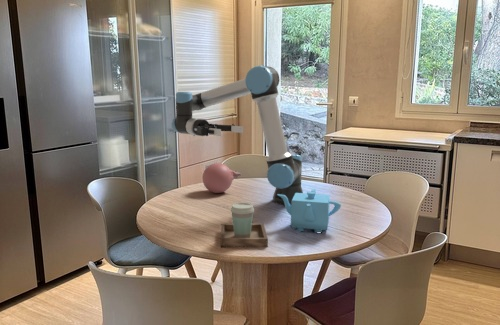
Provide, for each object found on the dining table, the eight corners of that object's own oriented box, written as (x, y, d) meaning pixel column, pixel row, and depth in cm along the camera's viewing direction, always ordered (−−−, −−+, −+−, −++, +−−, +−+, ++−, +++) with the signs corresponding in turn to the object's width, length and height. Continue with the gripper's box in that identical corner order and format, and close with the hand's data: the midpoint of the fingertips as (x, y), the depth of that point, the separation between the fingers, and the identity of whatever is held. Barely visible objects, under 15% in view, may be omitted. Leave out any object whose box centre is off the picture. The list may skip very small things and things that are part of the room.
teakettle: (343, 231, 171) (345, 194, 168) (305, 239, 161) (307, 201, 158) (311, 218, 187) (312, 184, 184) (275, 225, 177) (276, 190, 174)
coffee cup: (258, 236, 161) (258, 205, 159) (242, 242, 155) (242, 210, 153) (242, 230, 167) (242, 200, 165) (226, 236, 161) (225, 205, 159)
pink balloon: (242, 196, 219) (242, 166, 216) (201, 196, 218) (201, 166, 215) (240, 188, 234) (241, 160, 231) (203, 188, 233) (203, 160, 230)
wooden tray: (263, 230, 170) (263, 223, 169) (267, 246, 154) (267, 238, 153) (221, 231, 169) (221, 223, 168) (221, 247, 153) (221, 239, 152)
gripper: (217, 132, 209) (251, 137, 195) (176, 137, 191) (210, 143, 177) (217, 117, 208) (251, 120, 194) (176, 120, 189) (210, 124, 176)
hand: (231, 131), depth 185 cm, fingers open, 13 cm apart
